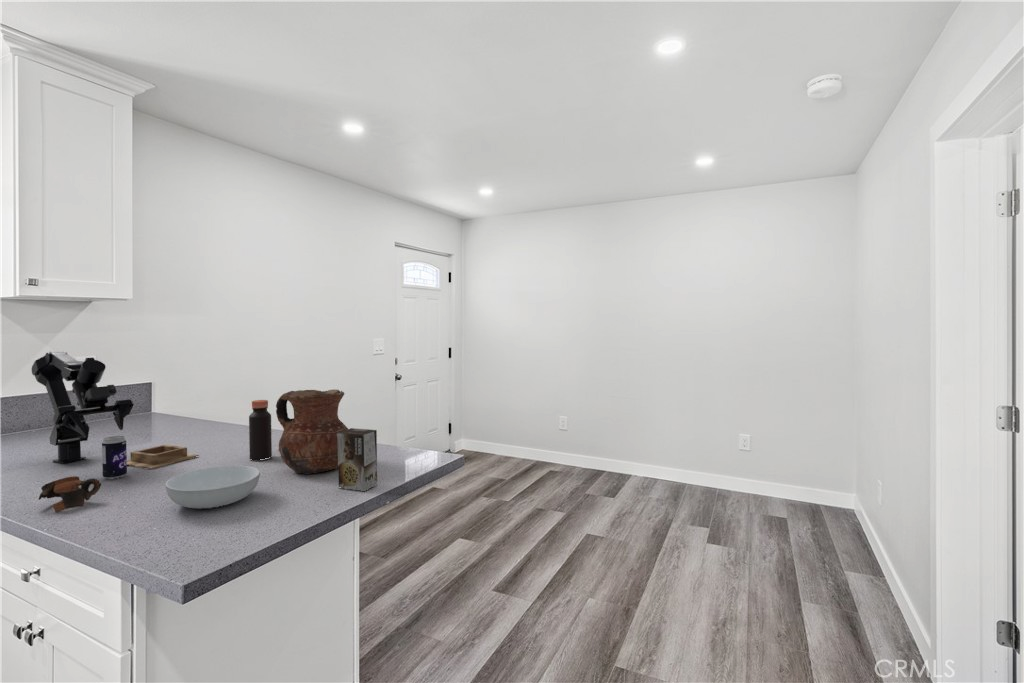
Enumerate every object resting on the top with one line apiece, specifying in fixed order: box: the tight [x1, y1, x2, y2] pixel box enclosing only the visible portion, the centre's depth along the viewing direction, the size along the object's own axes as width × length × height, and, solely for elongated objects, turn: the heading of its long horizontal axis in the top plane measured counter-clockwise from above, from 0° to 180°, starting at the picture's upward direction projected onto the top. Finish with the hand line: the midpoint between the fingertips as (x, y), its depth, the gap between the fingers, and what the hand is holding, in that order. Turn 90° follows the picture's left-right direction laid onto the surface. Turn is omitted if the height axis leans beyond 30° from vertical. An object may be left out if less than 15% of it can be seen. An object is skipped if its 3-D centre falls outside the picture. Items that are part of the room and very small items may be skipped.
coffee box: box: [337, 427, 378, 492], centre depth 138 cm, size 9×6×16 cm
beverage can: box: [101, 435, 128, 480], centre depth 146 cm, size 6×6×12 cm
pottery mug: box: [38, 475, 102, 513], centre depth 125 cm, size 12×10×8 cm
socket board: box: [127, 444, 200, 470], centre depth 164 cm, size 16×16×4 cm
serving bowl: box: [164, 464, 261, 509], centre depth 126 cm, size 21×21×7 cm
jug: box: [275, 389, 349, 474], centre depth 156 cm, size 22×21×25 cm
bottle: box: [248, 399, 273, 461], centre depth 167 cm, size 7×7×20 cm
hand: (103, 432), depth 150 cm, fingers open, 9 cm apart
